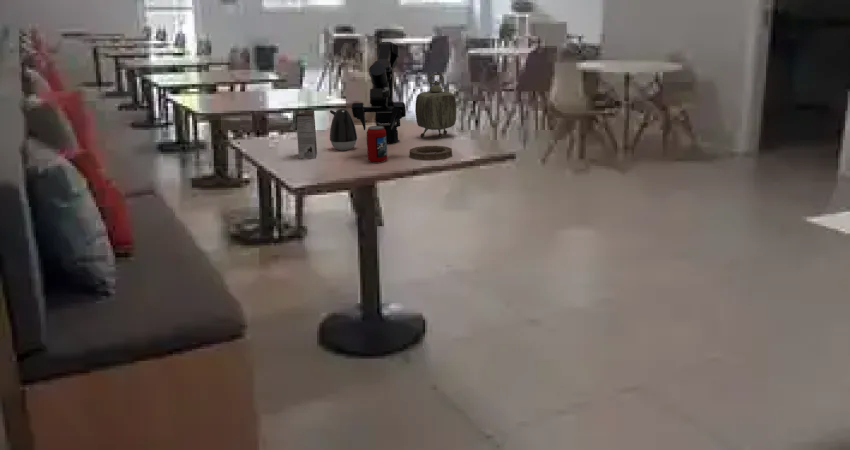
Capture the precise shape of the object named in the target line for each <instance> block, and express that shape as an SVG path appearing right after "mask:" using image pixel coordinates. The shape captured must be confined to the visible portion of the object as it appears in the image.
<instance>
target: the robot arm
mask: <svg viewBox="0 0 850 450" xmlns="http://www.w3.org/2000/svg"><path fill="white" fill-rule="evenodd" d="M400 55H401V51H400V47H399V45H397V44H395V43H393V42H392V41H381V42H379V44H378V45H377V46H376V57H377V60H375V61H374V62H373V63H372V64H371V65H370V67H369V68H368V74H369V77H370V82H371V84H372V88H370V89H369V104H370V105H368V106H367V105H364V102H353V103H352V104H351V112H352V118H356V120H359V121H360V122H361V124H362V128H363V131H366V128H367V127H366V113H375V126H383V127H384V129H385V131H386V142H387V144H389V145H391V144H395V143H397V142H400V139H399V131H398V128H399V127H401V119H402V118H406V117H407V116H406V115H407V114H406V113H407V112H406V111H407V110H406V104H405V102H404V101H394V100H393V99H394V75H395V74H394V73H395V71H394V69H395V68H396V67H397V65H398V63H399V58H401V56H400Z"/></svg>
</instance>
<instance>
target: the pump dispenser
mask: <svg viewBox="0 0 850 450" xmlns="http://www.w3.org/2000/svg"><path fill="white" fill-rule="evenodd" d="M329 113H330V114H331V115H332V117H333V118H332V120H331V123H330V129H329V130H330V131H329V142H330V143H331V145H332V147H333V148H334V149H335V150H337V151H348V150H351V149H354V147H355V145H356V143H357V140H358V134H357V130H356V129H357V128H356V125H355V122H354V120H353V119H354V118H353V116H352V115H351V113H350V112H349V110H348V109H345V108H339V109H337V110H336V111H335V110H332V109H330V110H329Z"/></svg>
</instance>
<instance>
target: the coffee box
mask: <svg viewBox="0 0 850 450" xmlns="http://www.w3.org/2000/svg"><path fill="white" fill-rule="evenodd" d="M315 117H316V116H315V110H314V109H310V110H309V109H302V110H301V109H299V110H296V113H295V121H296V133H297V134H296V135H297V136H296V137H297V149H298V151H297V152H298V159H299V160H302V159H301V158H310V159H316V158H317V155H318V148H317V134H316V131H317V130H316V118H315Z"/></svg>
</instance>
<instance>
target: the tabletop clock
mask: <svg viewBox="0 0 850 450" xmlns="http://www.w3.org/2000/svg"><path fill="white" fill-rule="evenodd" d="M434 76H440V77H441V78H442V79H441V81H439V82H438V80H434V82H432V81H430V79H431V77H434ZM443 81H444V76H443V75H442V74H441V73H437V72H436V73H432V74H430V75H429V77H428V78H427V82H428V83H429V84H430V85H432V86H431V87H430V88H429V90H428V91H422V92H420V93H418V94H417V96H416V99H415V119H416V124H417V126H418V127H420V128H422V129H424V131H423V133H420V138H424V137H425V134H426V133H427V131H428V130H430V131H438V135H437V136H438V138H439V137H441V138H443V135H447V134H448V131H447V130H446V129H449V128H452V127H453V126H454V125H456V121H457V100H456V97H455V94H454V93H452V92H447V91H443V87H442V86H441V85H440V84H442V83H443ZM441 130H443V131H441ZM441 132H442V133H443V134H442V133H441Z"/></svg>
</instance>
